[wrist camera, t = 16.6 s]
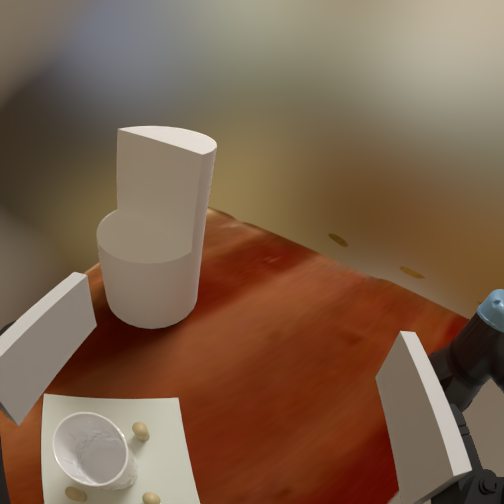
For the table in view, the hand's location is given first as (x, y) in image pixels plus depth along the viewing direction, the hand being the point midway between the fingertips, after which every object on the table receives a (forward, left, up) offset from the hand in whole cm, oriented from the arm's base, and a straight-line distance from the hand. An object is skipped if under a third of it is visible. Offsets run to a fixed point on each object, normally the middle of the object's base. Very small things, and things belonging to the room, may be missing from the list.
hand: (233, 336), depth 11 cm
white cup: (+9, +7, -28) cm, 31 cm away
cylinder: (+24, -22, -29) cm, 44 cm away
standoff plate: (+9, +7, -29) cm, 31 cm away
